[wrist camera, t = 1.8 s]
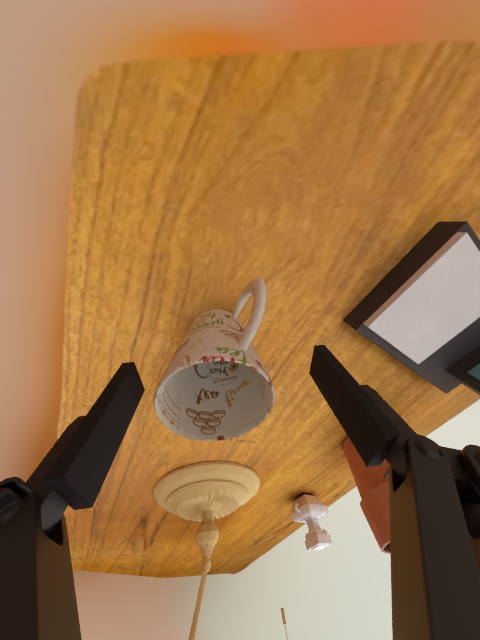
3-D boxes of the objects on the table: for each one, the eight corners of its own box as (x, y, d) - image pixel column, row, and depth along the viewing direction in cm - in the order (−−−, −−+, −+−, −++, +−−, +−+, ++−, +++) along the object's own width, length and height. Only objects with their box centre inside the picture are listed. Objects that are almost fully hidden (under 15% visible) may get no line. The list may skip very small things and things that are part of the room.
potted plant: (341, 464, 41) (484, 740, 19) (320, 438, 35) (493, 798, 13) (401, 439, 39) (642, 722, 17) (390, 407, 33) (742, 781, 11)
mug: (171, 348, 22) (140, 432, 13) (208, 246, 17) (199, 270, 8) (234, 366, 24) (244, 447, 16) (282, 280, 20) (336, 327, 11)
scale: (342, 320, 23) (393, 359, 16) (439, 221, 18) (559, 220, 12) (430, 382, 31) (487, 425, 24) (512, 323, 26) (609, 356, 20)
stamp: (325, 493, 48) (344, 542, 41) (308, 504, 50) (323, 552, 43) (300, 489, 45) (316, 541, 38) (283, 500, 47) (295, 552, 40)
